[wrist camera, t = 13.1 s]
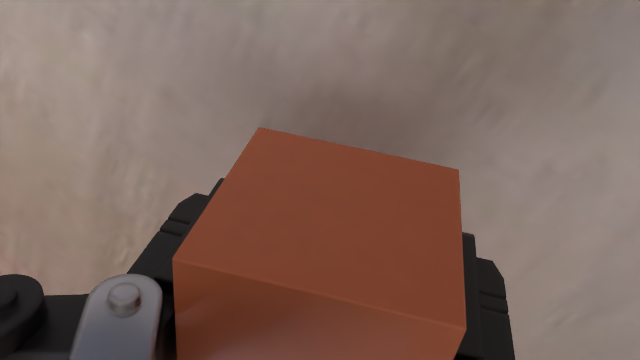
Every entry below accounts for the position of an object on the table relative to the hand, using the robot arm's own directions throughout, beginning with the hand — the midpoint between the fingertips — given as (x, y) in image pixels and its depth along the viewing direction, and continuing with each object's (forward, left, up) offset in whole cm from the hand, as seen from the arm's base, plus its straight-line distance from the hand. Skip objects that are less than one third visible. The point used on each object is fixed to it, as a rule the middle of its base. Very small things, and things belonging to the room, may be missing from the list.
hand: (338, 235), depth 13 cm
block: (0, 0, 0) cm, 0 cm away
